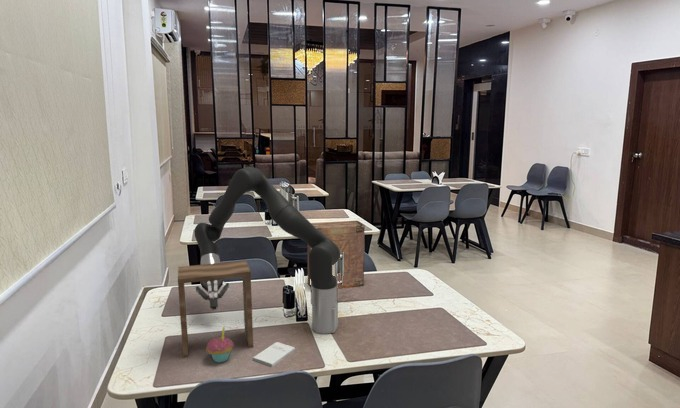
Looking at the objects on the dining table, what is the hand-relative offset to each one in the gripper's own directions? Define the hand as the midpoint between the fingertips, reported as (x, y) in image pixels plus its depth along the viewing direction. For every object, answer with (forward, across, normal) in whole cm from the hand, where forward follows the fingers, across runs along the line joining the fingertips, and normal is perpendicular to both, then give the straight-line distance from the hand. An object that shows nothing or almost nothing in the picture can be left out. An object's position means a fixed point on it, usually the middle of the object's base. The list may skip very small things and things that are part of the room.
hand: (214, 308), depth 165 cm
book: (-14, +57, +25) cm, 64 cm away
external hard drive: (+25, +17, -13) cm, 33 cm away
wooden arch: (+15, 0, -4) cm, 15 cm away
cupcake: (+22, 0, -11) cm, 25 cm away
